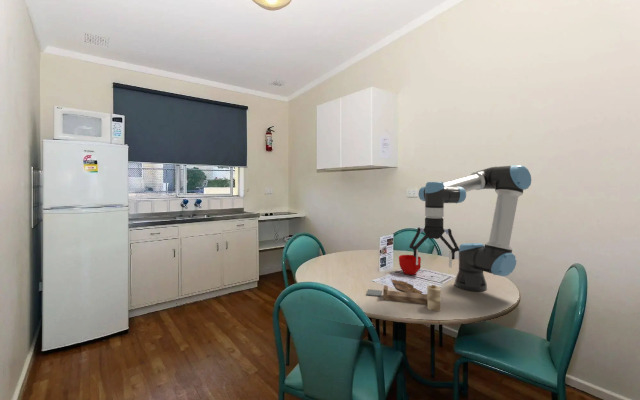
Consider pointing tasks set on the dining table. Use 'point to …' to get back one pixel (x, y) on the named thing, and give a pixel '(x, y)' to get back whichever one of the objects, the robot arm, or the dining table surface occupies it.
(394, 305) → the dining table surface
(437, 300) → the cream tall block
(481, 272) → the robot arm
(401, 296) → the plank
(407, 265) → the ceramic cup
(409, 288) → the wooden fragment
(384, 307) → the dining table surface
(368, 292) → the mat
